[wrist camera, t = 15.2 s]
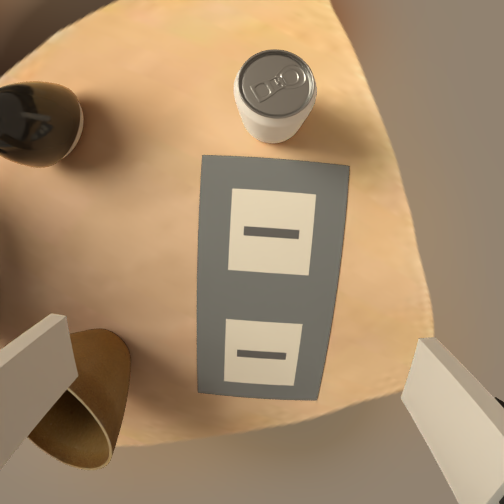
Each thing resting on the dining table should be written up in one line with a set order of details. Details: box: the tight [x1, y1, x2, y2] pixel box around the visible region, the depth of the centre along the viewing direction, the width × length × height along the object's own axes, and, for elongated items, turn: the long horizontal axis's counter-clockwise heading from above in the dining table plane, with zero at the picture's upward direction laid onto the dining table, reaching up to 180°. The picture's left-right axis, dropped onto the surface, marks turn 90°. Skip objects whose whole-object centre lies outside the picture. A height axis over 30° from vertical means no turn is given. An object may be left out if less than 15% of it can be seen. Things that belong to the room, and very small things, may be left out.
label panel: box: [197, 155, 349, 400], centre depth 36 cm, size 16×30×1 cm, turn 176°
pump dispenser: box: [0, 81, 84, 168], centre depth 26 cm, size 10×10×15 cm
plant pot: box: [27, 329, 131, 470], centre depth 32 cm, size 15×15×16 cm
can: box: [234, 50, 317, 143], centre depth 26 cm, size 6×6×12 cm
